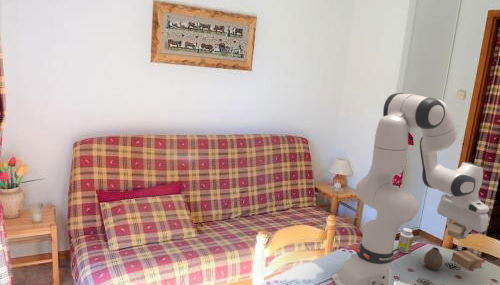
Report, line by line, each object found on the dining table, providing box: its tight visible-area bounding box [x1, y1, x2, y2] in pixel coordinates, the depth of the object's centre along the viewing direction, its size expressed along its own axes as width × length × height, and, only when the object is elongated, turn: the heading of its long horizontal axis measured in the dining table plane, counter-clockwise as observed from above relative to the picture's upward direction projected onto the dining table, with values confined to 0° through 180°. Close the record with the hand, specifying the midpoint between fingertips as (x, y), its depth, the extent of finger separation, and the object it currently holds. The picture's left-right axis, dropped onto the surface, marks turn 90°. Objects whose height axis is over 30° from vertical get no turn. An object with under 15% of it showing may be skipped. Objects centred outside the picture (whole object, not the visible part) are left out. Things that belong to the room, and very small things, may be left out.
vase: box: [423, 246, 444, 271], centre depth 155 cm, size 7×7×9 cm
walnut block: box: [451, 250, 484, 270], centre depth 162 cm, size 8×8×4 cm
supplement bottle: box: [397, 227, 414, 254], centre depth 169 cm, size 6×6×10 cm
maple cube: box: [446, 221, 467, 240], centre depth 155 cm, size 5×5×5 cm
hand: (457, 232), depth 155 cm, fingers closed on maple cube, 5 cm apart
